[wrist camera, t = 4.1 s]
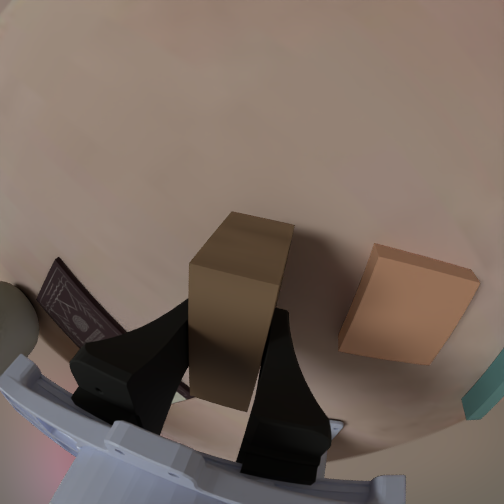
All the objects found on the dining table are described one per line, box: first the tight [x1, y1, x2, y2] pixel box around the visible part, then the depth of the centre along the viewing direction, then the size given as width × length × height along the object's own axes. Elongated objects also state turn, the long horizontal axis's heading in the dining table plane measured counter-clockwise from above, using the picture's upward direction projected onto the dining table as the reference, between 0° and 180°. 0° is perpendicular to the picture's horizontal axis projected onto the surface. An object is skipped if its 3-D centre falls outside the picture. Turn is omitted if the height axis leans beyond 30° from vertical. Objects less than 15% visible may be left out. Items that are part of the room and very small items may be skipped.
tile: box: [338, 243, 480, 365], centre depth 16 cm, size 7×7×2 cm
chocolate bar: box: [36, 257, 194, 403], centre depth 26 cm, size 9×1×18 cm
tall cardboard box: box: [188, 212, 295, 412], centre depth 13 cm, size 8×3×5 cm, turn 172°
